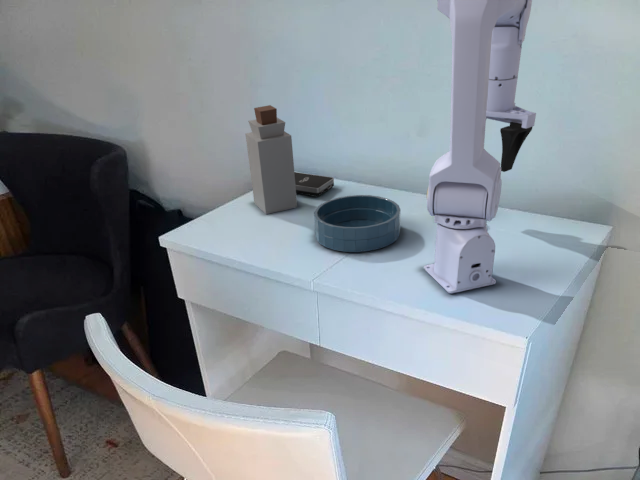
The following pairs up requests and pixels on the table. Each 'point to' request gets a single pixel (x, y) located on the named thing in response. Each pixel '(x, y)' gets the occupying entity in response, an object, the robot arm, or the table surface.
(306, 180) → the external hard drive
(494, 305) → the table surface
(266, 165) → the perfume bottle
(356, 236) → the bowl
